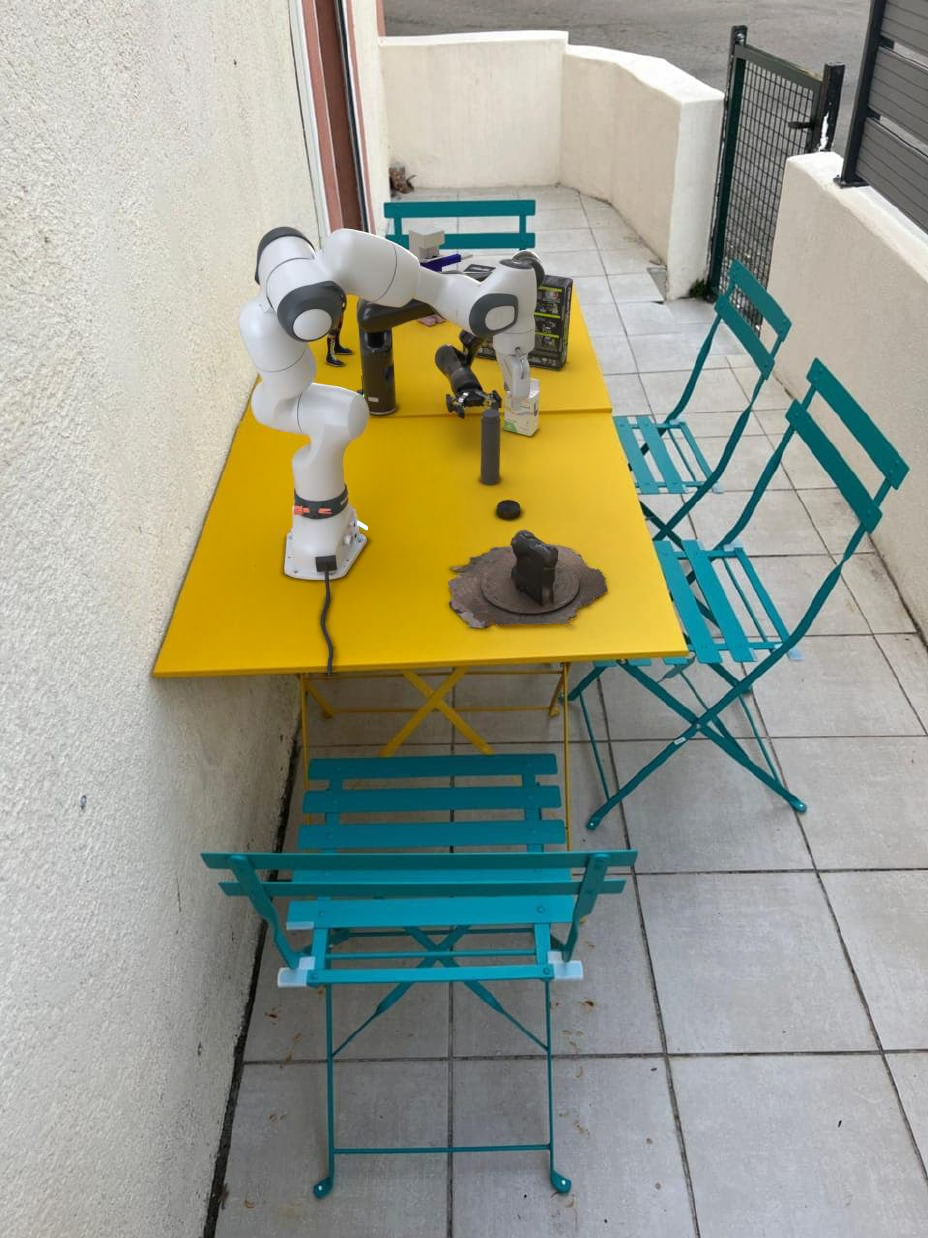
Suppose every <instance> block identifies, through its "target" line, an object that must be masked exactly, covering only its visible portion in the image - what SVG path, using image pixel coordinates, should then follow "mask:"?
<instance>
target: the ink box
mask: <svg viewBox="0 0 928 1238" xmlns="http://www.w3.org/2000/svg"><path fill="white" fill-rule="evenodd" d="M540 384H541V383H540V379H536V378H532V377H530V395H529V397H528V398H526V399H522V402H521V409H520V410H519V411H514V410H513V409H512V400H513V397H512V395H511V393H510V391H507V392H506V391H505V390H504V391H505V393H504V394H505V395H504V418H503V420H504V421H503V423H504V424H503V430H505V431H508V432H513V433H517V434H520V435H524V436H528V437H532V436H533V434H535V432H537V430H538V427H539V410H540V396H541V395H540V394H541V391H540Z"/></svg>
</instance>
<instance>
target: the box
mask: <svg viewBox="0 0 928 1238" xmlns="http://www.w3.org/2000/svg"><path fill="white" fill-rule="evenodd" d="M496 267H497V266H489V265H482V264H475V263H470V264H468V266H466V268H464V269H463V270H462V272H482V273H484V272H492V271H494V270H495V269H496ZM573 285H574V278H570V277H566V276H559V275H552V274H547V273H545V280H544V282H543V284H542V286H541V287H540V288H539V289H538V290H537V298H536V308H535V311H534V320H535V342H534V349H533V350H532V351H530V352H529V353H528V356H527V357H526V358H527V360H528V362H529V366H531V367H538V368H544V369H547V370H554V371H560V370H561V369H562V367H563V366H564V365H565V363H566V362H567V360H568V359H567V358H568V346H569V345H568V344H569V336H570V335H569V334H570V323H571V322H570V321H571V309H572V308H571V307H572V299H573ZM465 351H466V347H465V346H464V345H463V344H462V353H464V352H465ZM476 357H478V358H483V359H490V360H497V358H496V350H495V349H494V348H493V336H492V337H490V338H488V339H487V340H486V341H485V343H484V344H483V345H482V346H481V348H480V349H479V351H478V353H477V355H476Z"/></svg>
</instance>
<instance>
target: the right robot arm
mask: <svg viewBox="0 0 928 1238" xmlns="http://www.w3.org/2000/svg"><path fill="white" fill-rule="evenodd" d="M510 259H515V260H520V261H523V262H525V263H527V264H529V265H531V266H532V267H533V268H534V271H535V275H536V284H537V290H538V289H539V288H540V287H541V286H542V284H543V282H544V280H545V274H546V272H545V269H544V266H543V264H542V262H541V260H540V257H539V255H537V254H536V253H535V252H534V251H532V250H529V249H522V250H519V251H517V252H516V253H514V254H513V255H512V257H511V258H510ZM462 272H463V271H462ZM463 273H465V274H467V275H468V276H470V277H471V278H472V279H474V280H476V281H478V282H480V283H481V282H482V281H484V280H485V279H487V278H488V277H489V276H490V275H491V274H492V273H493V271H492V272H484V273H482V272H463ZM434 315H437V314H436V313H435V312H434V311H433V310H432V308H431V307H430V306H429V305H428V304H427V303H425V302H422V301H419V300H416V299H413V298H412V299H411V300H410V301H409V302H408V303H407V304H406V305H404V306H402V307H390V306H384V305H380V304H376V303H373V302H370V301H367V300H365V299H362V298H360V297H358V300H357V303H356V322H357V327H358V342H359V343H358V344H359V345H358V346H359V354H360V355H359V356H360V365H361V376H360V379H361V380H360V381H361V388H360V389H358V390H357V389H356V393H359V394H361V395H362V396H363V397H364V398H365V400H366V402H367V405H368V408H369V415H372V416H386V415H387V416H388V415H391V414H393V413H394V412H396V411H397V408H398V403H397V390H396V389H397V388H396V375H395V374H396V373H395V359H394V340H393V338H394V337H393V329H394V328H395V327H399V326H401V325H404V324H407V323H409V322H413V321H418V319H422V318H427V317H431V316H434ZM458 339H459V342H460V343H461V344H462V346H463V345H464V346H465V347H466V351H465V352H464V353H463V351H462V350H459V348H456V347H455V346H453V345H452V344H448V343H446V344H442V345H440V346H439V347H438V348H437V349H436V352H435V354H434V364H435V366H436V368H437V369H438V370H439V371H440V372H441V374H443V376H445V378H446V379H447V381H448V383H449V386H450V390H451V392H452V393H453V395H454V396H453V395H451V394H450V393H446V394H445V406H446V409H447V412H448V413H449V414H452V413H456V415H457V417H458V418H461V420H465V417H466V411H465V410H467V408H468V409H469V408H478V407H479V408H481V409H484V410H487V409H495V410H498V411H499V410H500V409H502V407H503V406H502V403H503V398H502V396H501V395H500V394H499V392H498V391H497V390H496V389H493V390H491V392H490V393H489V392H488V393H487V392H486V391H484V389H483V385H482V384H481V383H480V381H479V379H478V377H477V376H476V374H475V373H474V372H473V370H472V366H473V364H474V361H475V359H476V357H477V356H476V355H477V353H478V351H479V349H480V348H481V346H482V345H483V344H484V343H485V341H486V340H487V339H488V338H480V337H477V336H475V335H473V334H471V333H469V332H467V331H465V330H464V329H462V328H461V330H460V331H459V334H458ZM499 412H500V411H499Z"/></svg>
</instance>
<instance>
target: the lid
mask: <svg viewBox="0 0 928 1238" xmlns="http://www.w3.org/2000/svg"><path fill="white" fill-rule="evenodd" d="M521 509H522V508H521V504H520V503H519V501H516V500H512V499H503V500H500V501H499V502H498V503H497V504H496V509H495V510H496V515H497V517H498V518H500V519H503V520H507V521H509V520H515V519H517V518H519V517H520V515H521Z"/></svg>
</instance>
